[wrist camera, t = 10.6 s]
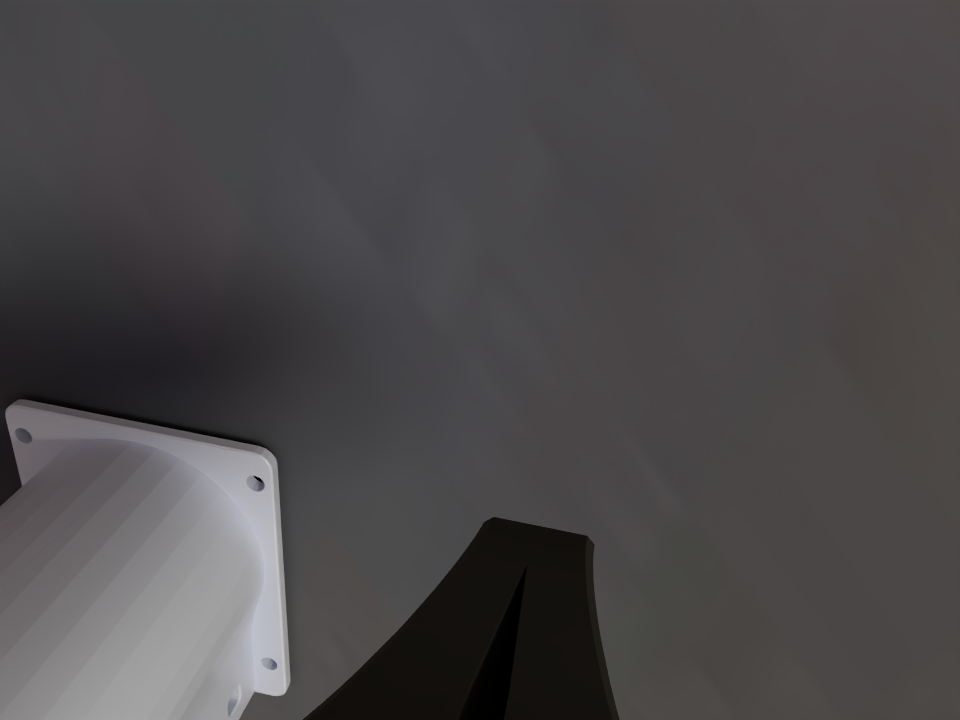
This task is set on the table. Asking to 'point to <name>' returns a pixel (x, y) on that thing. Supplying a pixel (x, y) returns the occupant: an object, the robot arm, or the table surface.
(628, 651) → the table surface
